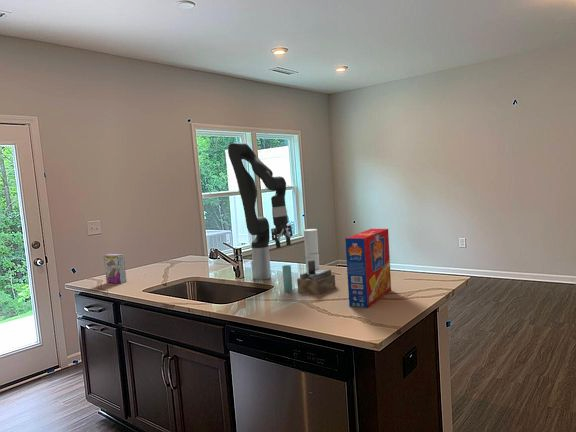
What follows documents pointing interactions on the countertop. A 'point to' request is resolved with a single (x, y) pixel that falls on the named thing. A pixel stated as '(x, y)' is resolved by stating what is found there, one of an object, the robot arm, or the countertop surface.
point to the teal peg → (287, 278)
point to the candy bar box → (115, 268)
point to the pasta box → (368, 267)
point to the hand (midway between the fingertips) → (283, 246)
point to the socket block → (316, 282)
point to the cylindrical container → (311, 247)
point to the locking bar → (313, 269)
